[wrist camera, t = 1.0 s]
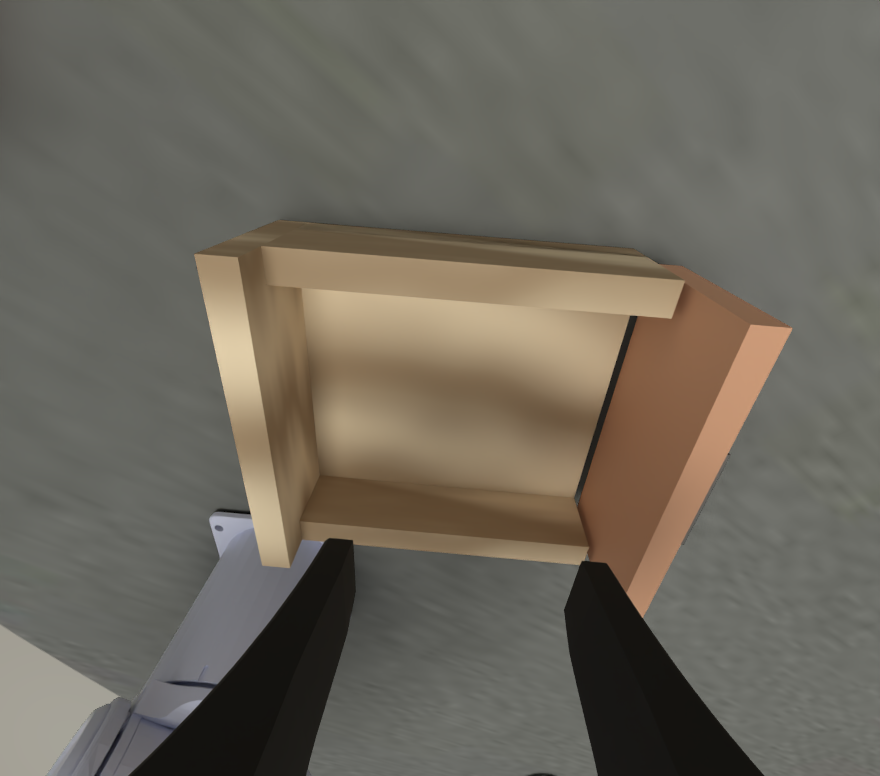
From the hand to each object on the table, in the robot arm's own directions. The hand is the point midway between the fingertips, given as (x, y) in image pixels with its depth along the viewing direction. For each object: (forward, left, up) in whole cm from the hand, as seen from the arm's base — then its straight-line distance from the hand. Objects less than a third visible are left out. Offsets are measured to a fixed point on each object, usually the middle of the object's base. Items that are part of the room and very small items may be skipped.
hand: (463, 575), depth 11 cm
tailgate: (0, -7, -9) cm, 12 cm away
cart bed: (0, +1, -10) cm, 10 cm away
